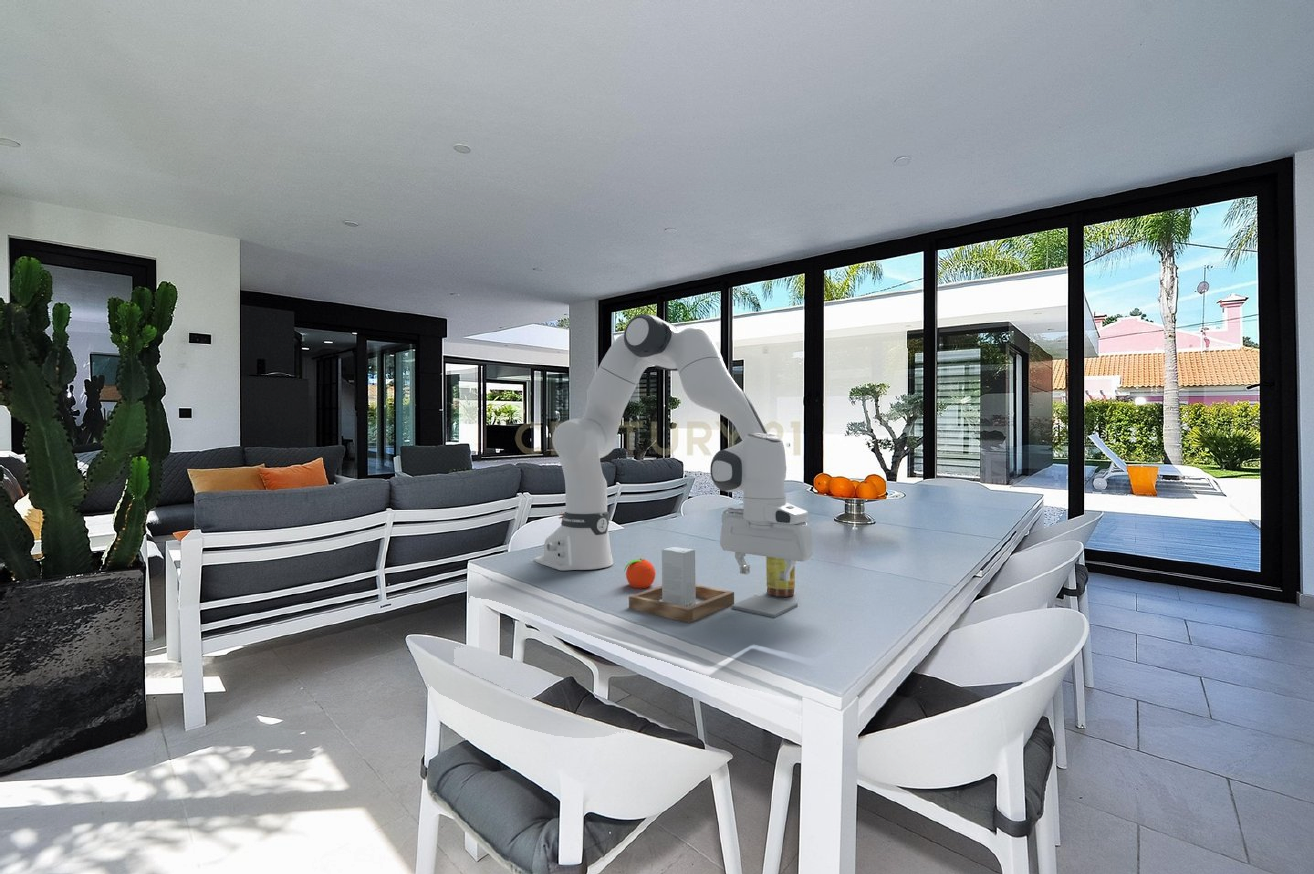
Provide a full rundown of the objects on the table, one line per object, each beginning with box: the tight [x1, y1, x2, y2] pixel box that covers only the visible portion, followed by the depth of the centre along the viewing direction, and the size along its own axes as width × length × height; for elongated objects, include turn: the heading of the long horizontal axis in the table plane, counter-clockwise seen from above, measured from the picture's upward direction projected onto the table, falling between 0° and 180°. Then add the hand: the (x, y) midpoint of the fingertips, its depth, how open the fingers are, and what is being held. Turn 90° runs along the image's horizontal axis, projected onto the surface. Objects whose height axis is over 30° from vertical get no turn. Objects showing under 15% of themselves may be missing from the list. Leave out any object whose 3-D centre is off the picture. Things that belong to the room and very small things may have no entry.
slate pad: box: [730, 594, 798, 619], centre depth 123 cm, size 10×10×1 cm
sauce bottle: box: [765, 556, 796, 598], centre depth 132 cm, size 6×6×20 cm
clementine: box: [623, 558, 656, 589], centre depth 137 cm, size 8×7×7 cm
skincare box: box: [661, 546, 697, 607], centre depth 124 cm, size 6×4×12 cm
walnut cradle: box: [628, 584, 735, 624], centre depth 124 cm, size 15×16×2 cm
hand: (764, 577), depth 123 cm, fingers open, 8 cm apart
